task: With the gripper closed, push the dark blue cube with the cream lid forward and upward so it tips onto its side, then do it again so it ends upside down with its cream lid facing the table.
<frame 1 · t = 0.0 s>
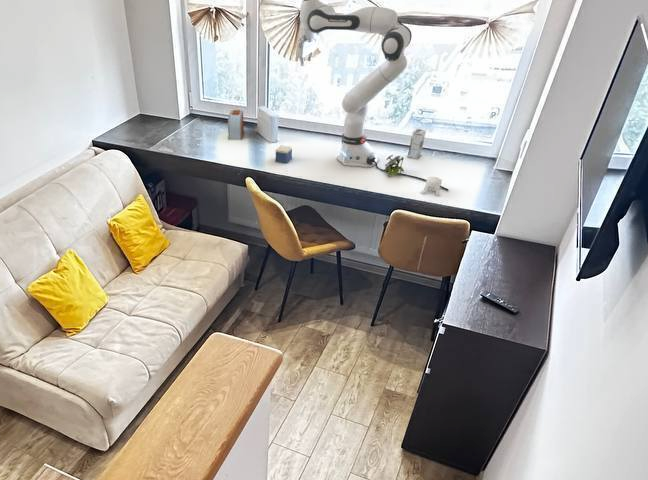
hand: (306, 63, 292), 48 cm above the table, tool pointing down, fingers open, 8 cm apart
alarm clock: (236, 135, 349), on the table
white lumpy piece: (430, 192, 278), on the table
syrup box: (414, 156, 311), on the table
dark blue cube: (283, 160, 316), on the table
passion flower: (393, 173, 297), on the table
skincare box: (267, 137, 344), on the table
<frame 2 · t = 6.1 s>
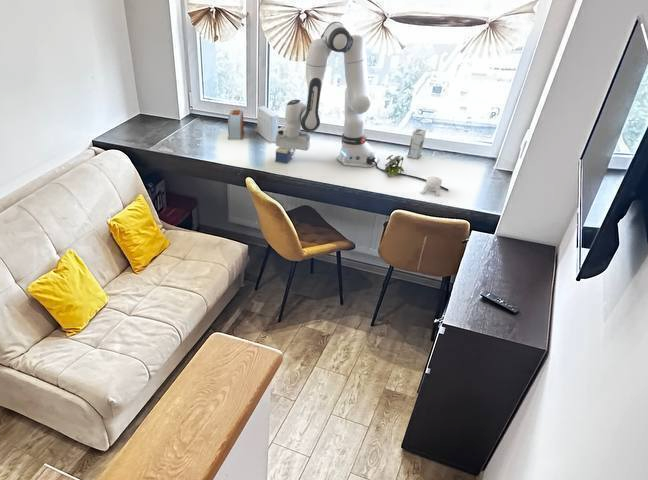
hand: (292, 155, 312), 4 cm above the table, tool pointing down, fingers closed
dark blue cube: (283, 160, 316), on the table, touching gripper
everything else where it was.
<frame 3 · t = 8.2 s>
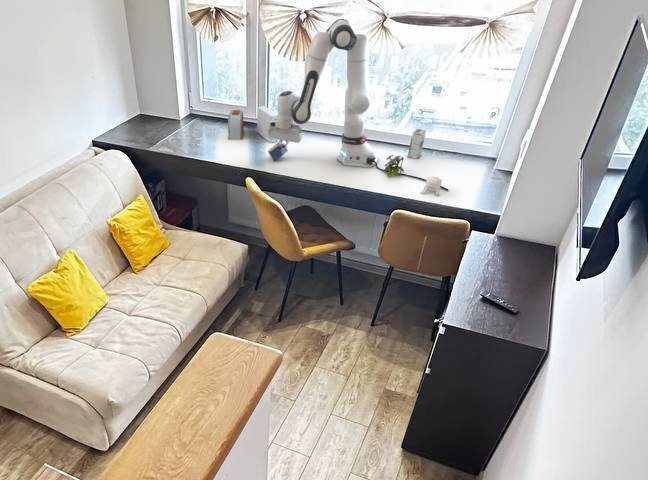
hand: (284, 147, 311), 7 cm above the table, tool pointing down, fingers closed
dark blue cube: (281, 155, 315), point 2 cm above the table, tilted 39°, touching gripper
everything else where it was.
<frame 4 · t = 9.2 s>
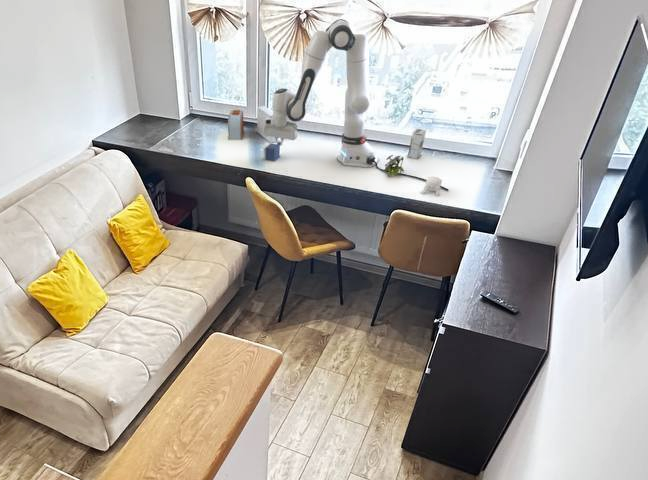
hand: (279, 145, 311), 8 cm above the table, tool pointing down, fingers closed
dark blue cube: (277, 153, 316), point 4 cm above the table, tilted 90°
everything else where it was.
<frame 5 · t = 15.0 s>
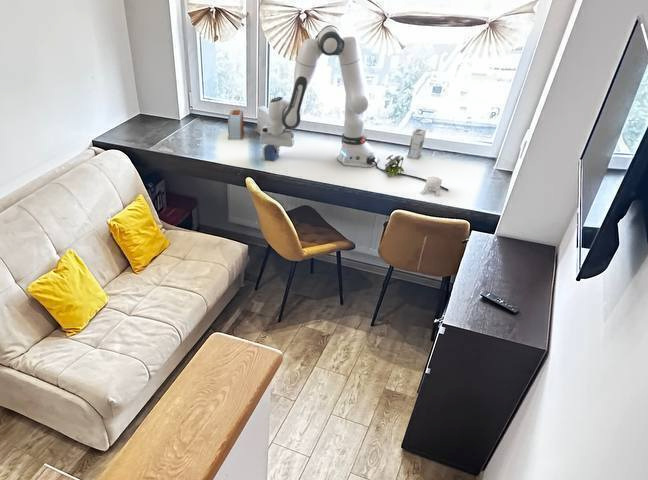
hand: (277, 152, 315), 4 cm above the table, tool pointing down, fingers closed on dark blue cube
dark blue cube: (276, 152, 316), point 4 cm above the table, tilted 93°, touching gripper
everything else where it was.
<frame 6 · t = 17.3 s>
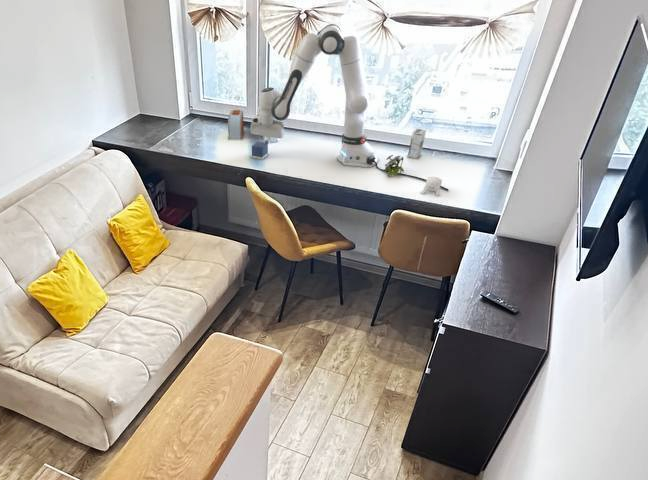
hand: (267, 143, 315), 8 cm above the table, tool pointing down, fingers closed
dark blue cube: (259, 144, 317), point 7 cm above the table, tilted 180°
everything else where it was.
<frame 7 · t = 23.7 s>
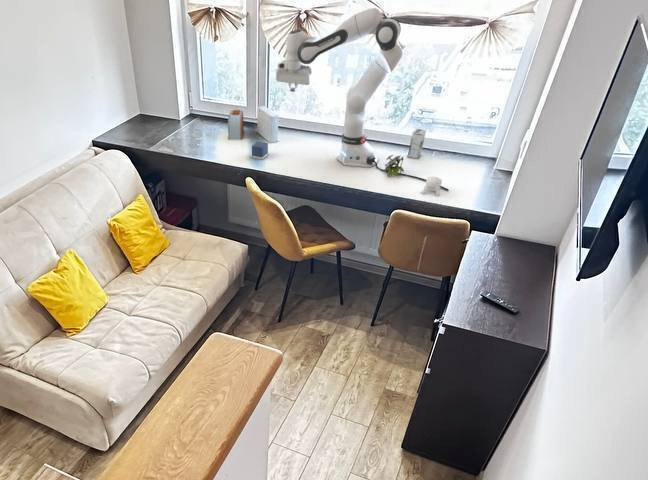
hand: (293, 91, 301), 34 cm above the table, tool pointing down, fingers closed
nothing on the table moved.
at the end: dark blue cube tilted 180°; dark blue cube inside the target area (1.6 cm from its centre), point 7.0 cm above the table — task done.
